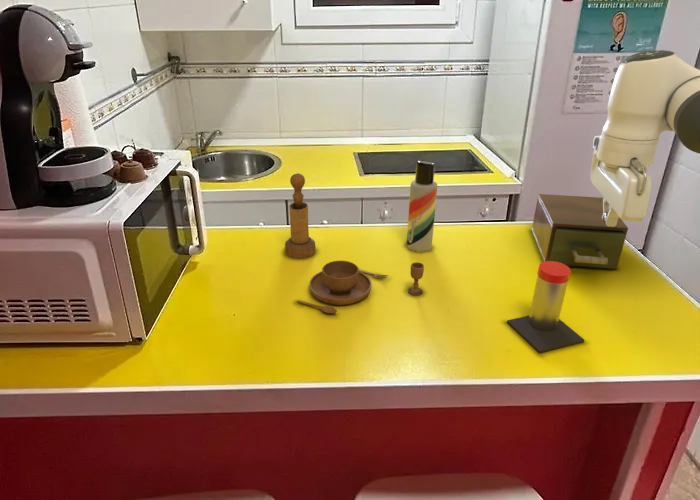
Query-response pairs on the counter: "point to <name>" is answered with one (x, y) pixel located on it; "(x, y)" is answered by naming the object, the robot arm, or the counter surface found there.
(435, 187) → the lotion bottle
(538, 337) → the mat
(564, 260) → the drawer
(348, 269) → the place setting
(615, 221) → the robot arm
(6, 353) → the counter surface
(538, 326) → the spice jar
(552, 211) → the cabinet
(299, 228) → the mortar and pestle
